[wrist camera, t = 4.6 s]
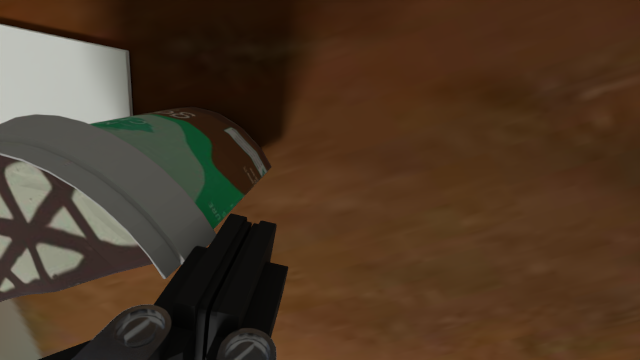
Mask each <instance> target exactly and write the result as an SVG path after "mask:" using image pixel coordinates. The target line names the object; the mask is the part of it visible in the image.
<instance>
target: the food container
mask: <svg viewBox="0 0 640 360" xmlns="http://www.w3.org/2000/svg"><path fill="white" fill-rule="evenodd" d="M270 168H271V165H270V163H269V162H268V160H267V158H266V156H265V154H264V153H263V151H262V149H261V148H260V147H259V146H258V145H257V144H256V142H255V141H254V140H253V139H252V138H251V137H250V136H249V135H248V134H247V133H246V132H245V131H244V129H243V128H242V127H240V126H238V125H237V124H235V123H234V122H232V121H230V120H229V119H227V118H226V117H224V116H222V115H221V114H219V113H217V112H213V111H209V110H205V109H201V108H197V107H182V108H173V109H168V110H162V111H157V112H151V113H146V114H140V115H135V116H129V117H124V118H118V119H113V120H107V121H102V122H96V123H91V124H88V123H85V122H82V121H78V120H74V119H70V118H66V117H62V116H56V115H40V114H34V115H28V116H21V117H15V118H13V119H11V120H8V121H6V122H4V123H1V124H0V302H1V301H4V300H7V299H11V298H15V297H20V296H24V295H30V294H41V293H49V292H56V291H60V290H63V289H67V288H70V287H73V286H76V285H79V284H82V283H85V282H88V281H91V280H94V279H98V278H101V277H104V276H108V275H111V274H114V273H118V272H122V271H126V270H130V269H134V268H138V267H142V266H146V265H150V264H154V265H155V267H156V268H157V270H158V271H159V273H160V274H161V276H162V277H163V278H164V279H166V278H167V277H168V276H169V275H170V274H171V273H172V272H173V271H175V270H176V269H177V268H178V267H179V266H180V265H181V264H183V262H184V261H185V260H186V258H187V257H188V255H189V254H190V253H191V251H192V250H193V249H194V247H195V246H202V247H207V246H208V245H209V244H210V243H211V242H212V241H213V239H214V238H215V236H216V233H215V232H214V230H213V229H214V228H215V227H216V226H217V225H218V224H219V223H220V222H221V221H222V220H223V218H224V217H225V216H226V215H227V214H228V213H229V212H230V211H231V210H232V209H233V208H234V207H235V206H236V205H237V203H238V202H239V201H240V200H241V199H242V198H243V197H244V196H245V195H246V194H247V193H248V192H249V191H250V190H251V188H252V187H253V186H254V185H255V184H256V183H257V182H258V181H259V180H260V179H261V178H262V177H263V176H264V174H265V173H266V172H267V171H268V170H269V169H270Z"/></svg>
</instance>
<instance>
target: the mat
mask: <svg viewBox="0 0 640 360" xmlns="http://www.w3.org/2000/svg"><path fill="white" fill-rule="evenodd" d="M34 114H40V115H56V116H62V117H66V118H70V119H74V120H78V121H82V122H85V123H88V124H91V123H96V122H102V121H107V120H113V119H118V118H124V117H129V116H133V108H132V92H131V77H130V61H129V51H127V50H122V49H118V48H113V47H108V46H104V45H99V44H94V43H90V42H85V41H80V40H75V39H71V38H66V37H61V36H57V35H52V34H47V33H42V32H38V31H33V30H28V29H24V28H19V27H14V26H10V25H5V24H0V124H1V123H4V122H6V121H8V120H11V119H13V118H15V117H21V116H28V115H34Z"/></svg>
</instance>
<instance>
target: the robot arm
mask: <svg viewBox="0 0 640 360" xmlns="http://www.w3.org/2000/svg"><path fill="white" fill-rule="evenodd" d="M251 226H252V227H251ZM275 232H276V224H274V223H270V222H266V221H260V223H259V224H256V223H254V224H253V225H252V223H251V222H247V217H244V216H240V215H235V214H230V215H229V216H228V218H227V219H226V221H225V222H224V224H223V225H222V227H221V228H220V230H219V232H218V233H217V235H216V236H215V238H214V239H213V241H212V242H211V244H210V245H209V247H208V248H206V247H202V246H195V247H194V249H193V250H192V251H191V253H190V254H189V255H188V257H187V258H186V260H185V261H184V262H183V264H182V265H181V267H180V268H179V270H178V271H177V272H176V274H175V275H174V277H173V278H172V279H171V281H170V282H169V284H168V285H167V286H166V288H165V289H164V291H163V292H162V294H161V295H160V296H159V298H158V299H157V301H156V302H155V303H154V305H138V306H134V307H131V308H129V309H127V310H125V311H123V312H121V313H120V314H119V315H118V316H116V317H115V318H114V319H113V320H112V321H111V322H110V323H109V324H108V325H107V326H106V327H105V328H104V329H103V330H102V331H100V332H99V333H98V334H97V335H96V336H95V337H94V338H93V339H92V340H90V341H87V342H84V343H82V344H79V345H76V346H74V347H71V348H68V349H66V350H63V351H60V352H58V353H55V354H52V355H50V356H47V357H44V358H42V359H39V360H276V347H275V345H274V342H273V340H272V339H271V335H272V331H273V328H274V324H275V320H276V317H277V313H278V309H279V305H280V302H281V298H282V294H283V289H284V285H285V281H286V276H287V271H288V267H287V266H283V265H279V264H274V263H270V259H271V254H272V248H273V243H274V237H275Z"/></svg>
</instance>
